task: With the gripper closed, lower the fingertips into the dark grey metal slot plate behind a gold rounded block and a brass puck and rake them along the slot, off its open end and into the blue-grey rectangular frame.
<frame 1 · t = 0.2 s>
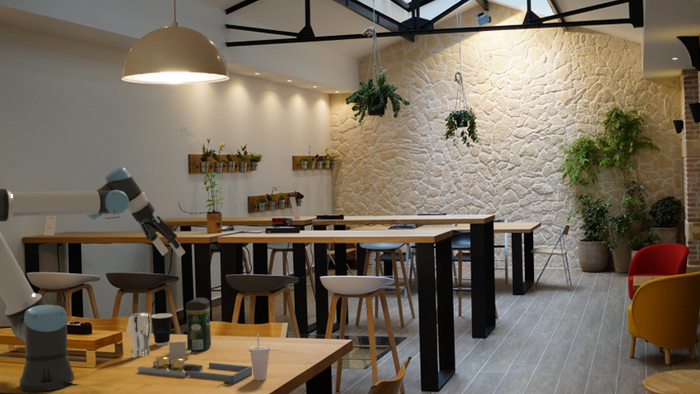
hand: (173, 254, 242), 35 cm above the table, tool tilted 35°, fingers open, 13 cm apart
dixie cup: (162, 344, 253), on the table
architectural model: (178, 363, 226), on the table
coffee jar: (199, 349, 245), on the table
blue-grey rectangular frame: (221, 377, 207), on the table
smoothie: (260, 379, 204), on the table
slot plate: (170, 374, 211), on the table
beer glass: (141, 357, 235), on the table
gold rounded block 1: (162, 370, 212), point 1 cm above the table, touching slot plate
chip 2: (178, 372, 210), point 1 cm above the table, touching slot plate
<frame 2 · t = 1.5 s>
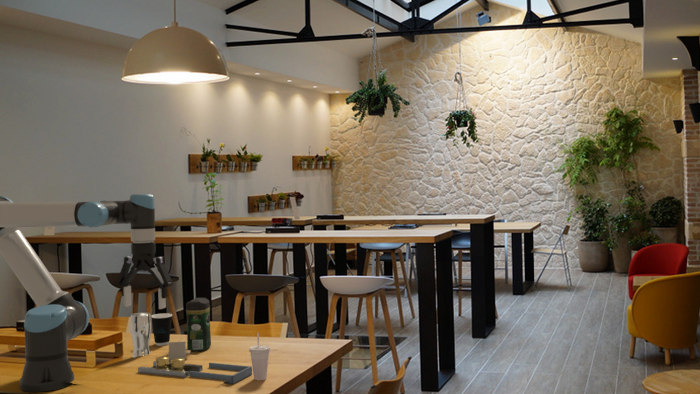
hand: (144, 307, 215), 21 cm above the table, tool pointing down, fingers open, 13 cm apart
nothing on the table moved.
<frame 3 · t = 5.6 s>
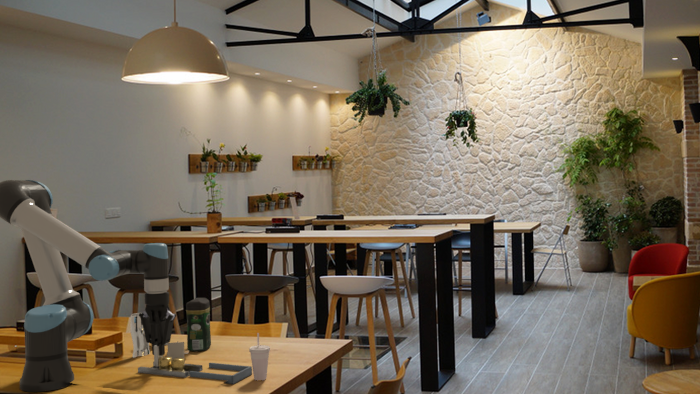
hand: (158, 365, 213), 3 cm above the table, tool pointing down, fingers closed
gold rounded block 1: (165, 370, 212), point 1 cm above the table, touching gripper
everything else where it was.
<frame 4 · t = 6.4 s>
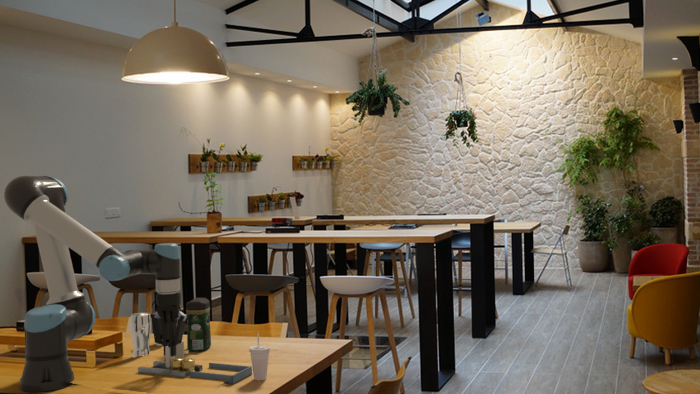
hand: (170, 366, 211), 3 cm above the table, tool pointing down, fingers closed
gold rounded block 1: (177, 371, 210), point 1 cm above the table, touching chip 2, gripper, slot plate
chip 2: (188, 372, 209), point 1 cm above the table, touching gold rounded block 1, slot plate
everything else where it was.
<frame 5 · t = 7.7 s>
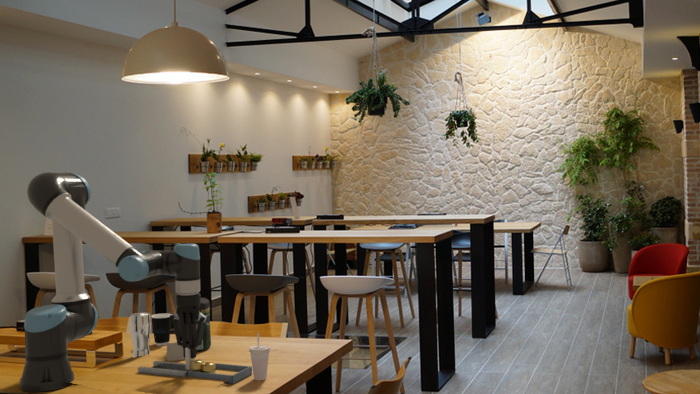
hand: (190, 368, 209), 3 cm above the table, tool pointing down, fingers closed
gold rounded block 1: (197, 373, 208), point 1 cm above the table, touching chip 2, gripper
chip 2: (208, 376, 206), resting on blue-grey rectangular frame, touching gold rounded block 1
everything else where it was.
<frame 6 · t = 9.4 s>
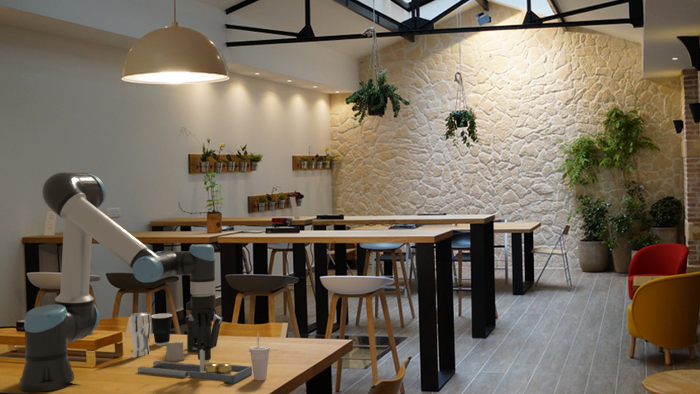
hand: (204, 370, 206), 2 cm above the table, tool pointing down, fingers closed
gold rounded block 1: (212, 377, 205), resting on blue-grey rectangular frame, touching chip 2, gripper
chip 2: (224, 377, 205), resting on blue-grey rectangular frame, touching gold rounded block 1
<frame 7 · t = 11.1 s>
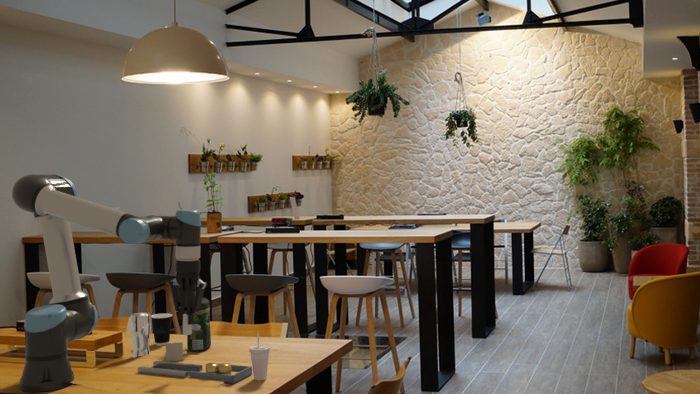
hand: (187, 334, 208), 13 cm above the table, tool pointing down, fingers closed
gold rounded block 1: (212, 377, 205), resting on blue-grey rectangular frame
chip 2: (224, 377, 205), resting on blue-grey rectangular frame
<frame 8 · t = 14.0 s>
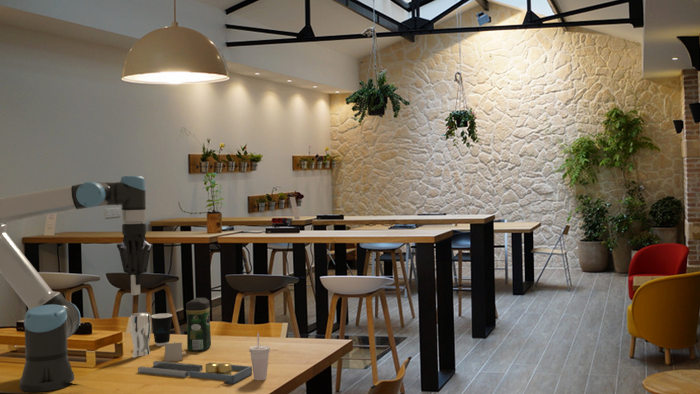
hand: (135, 294, 219), 24 cm above the table, tool pointing down, fingers closed
gold rounded block 1: (212, 377, 205), resting on blue-grey rectangular frame, touching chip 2
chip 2: (224, 377, 205), resting on blue-grey rectangular frame, touching gold rounded block 1
at the end: gold rounded block 1 inside the target area on the blue-grey rectangular frame (3.0 cm from its centre), point 0.4 cm above the blue-grey rectangular frame's base; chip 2 inside the target area on the blue-grey rectangular frame (2.7 cm from its centre), point 0.4 cm above the blue-grey rectangular frame's base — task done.
